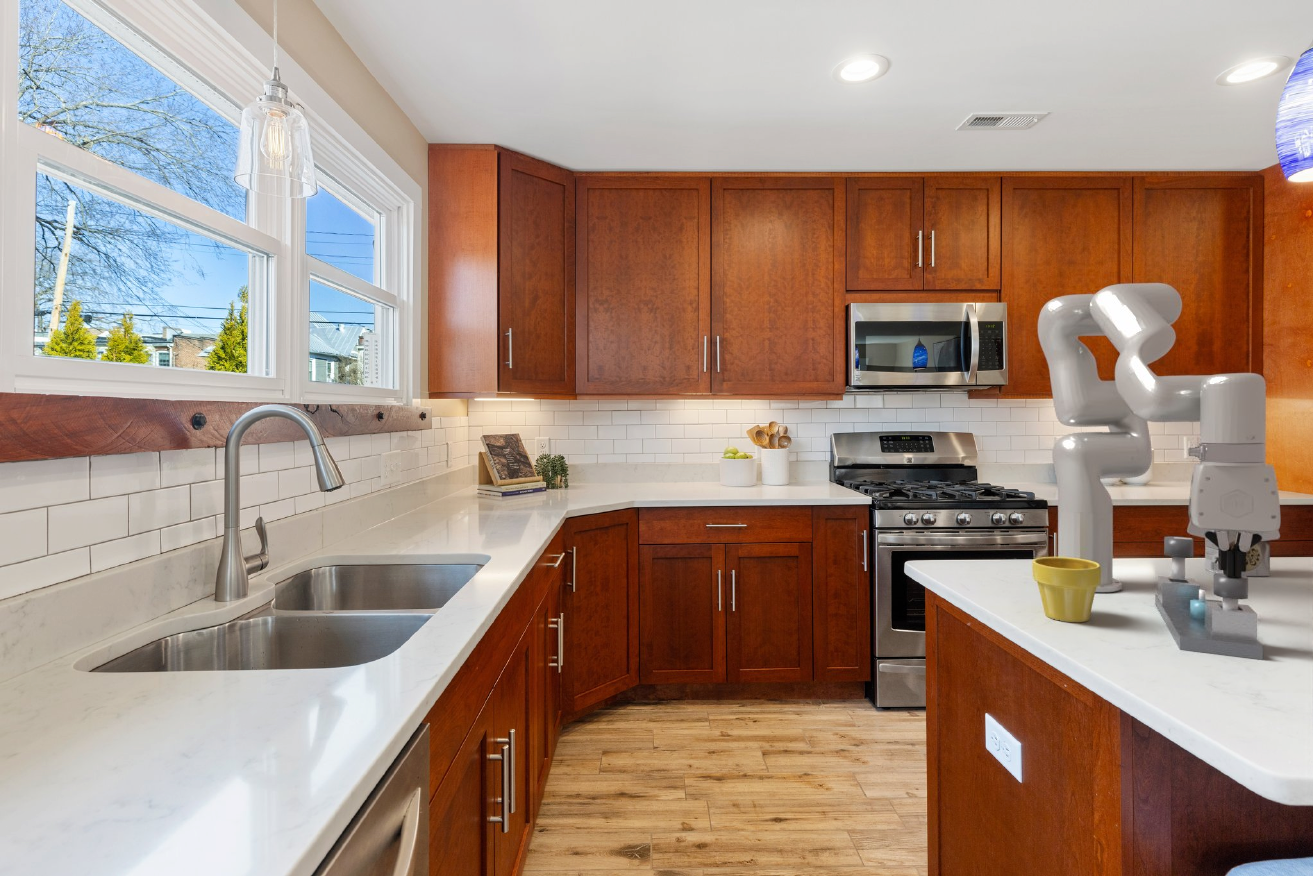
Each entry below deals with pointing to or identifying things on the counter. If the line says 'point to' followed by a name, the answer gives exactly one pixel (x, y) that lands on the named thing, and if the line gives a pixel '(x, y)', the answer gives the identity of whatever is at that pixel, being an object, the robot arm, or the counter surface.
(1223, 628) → the mount
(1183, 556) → the knob far
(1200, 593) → the potentiometer
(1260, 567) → the coffee box
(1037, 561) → the plant pot
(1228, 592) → the knob near
